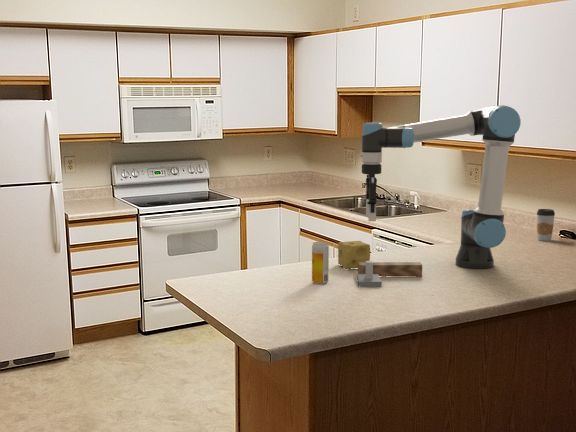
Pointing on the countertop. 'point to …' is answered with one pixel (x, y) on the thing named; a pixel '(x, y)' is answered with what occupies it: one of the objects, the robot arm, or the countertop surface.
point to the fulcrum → (369, 277)
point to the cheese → (353, 253)
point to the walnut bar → (393, 268)
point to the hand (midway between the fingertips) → (370, 218)
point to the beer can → (320, 262)
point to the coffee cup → (545, 224)
